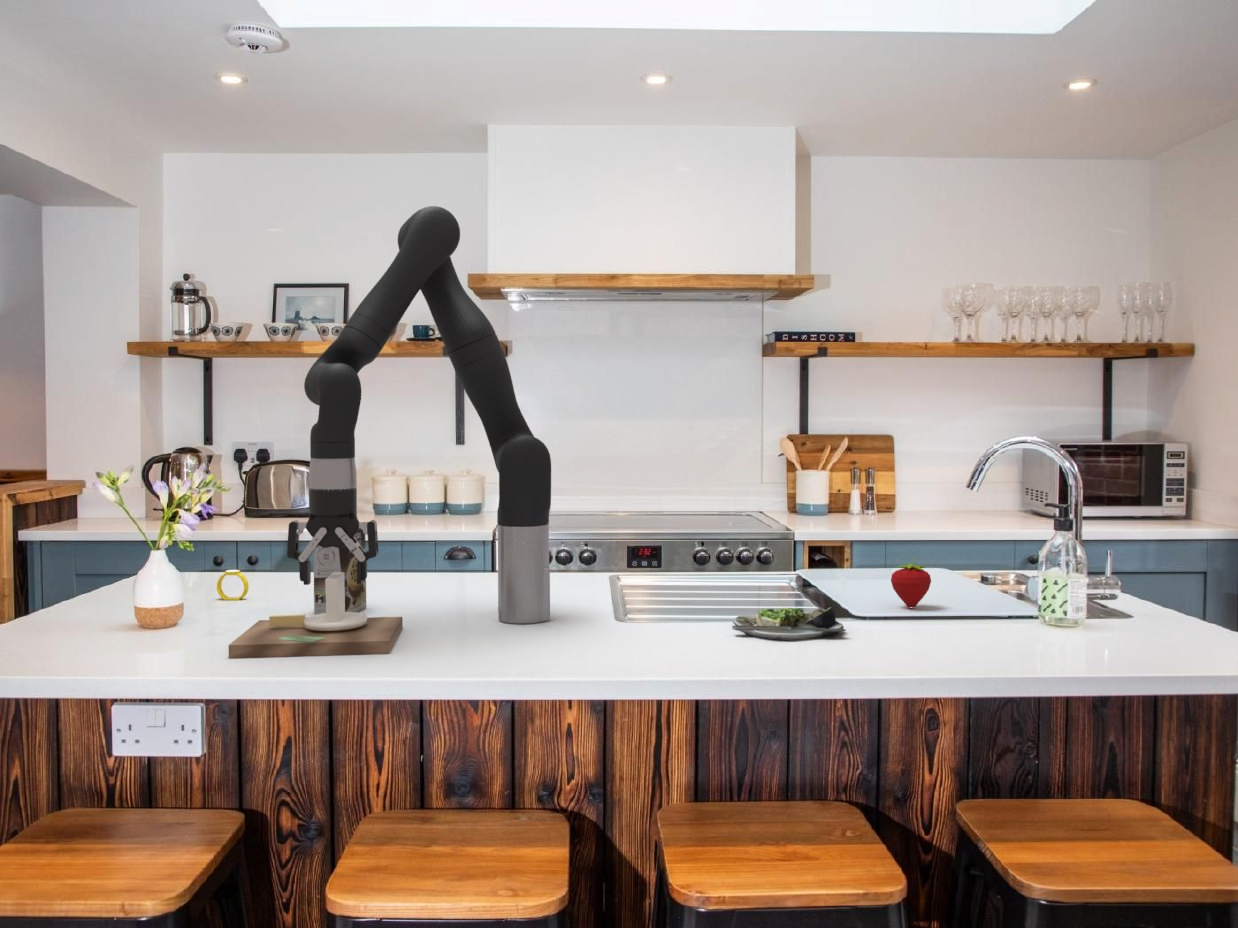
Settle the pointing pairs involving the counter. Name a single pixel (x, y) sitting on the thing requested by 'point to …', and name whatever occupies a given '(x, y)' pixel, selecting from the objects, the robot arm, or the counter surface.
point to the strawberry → (911, 583)
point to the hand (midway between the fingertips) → (333, 583)
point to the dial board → (317, 640)
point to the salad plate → (790, 624)
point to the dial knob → (334, 611)
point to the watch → (237, 572)
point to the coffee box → (332, 563)
